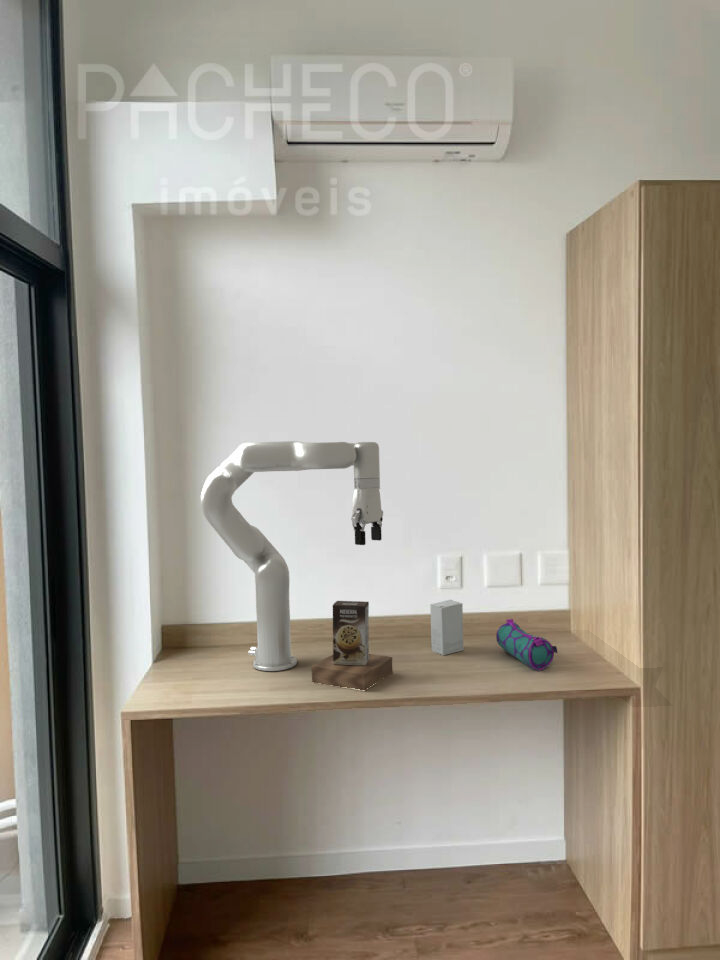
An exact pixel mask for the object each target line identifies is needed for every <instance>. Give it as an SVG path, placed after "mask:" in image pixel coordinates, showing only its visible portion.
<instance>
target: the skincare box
mask: <svg viewBox="0 0 720 960" xmlns="http://www.w3.org/2000/svg"><path fill="white" fill-rule="evenodd" d="M463 609H464V608H463V603H462V602H459V601H455V600H454V599H453V600H452V599H448V600H444V601H439V602H435V603H434V602H433V603H430V632H431V633H430V634H431V636H430V637H431V639H430V640H431V651H432V652H434V653H436V654H438V653H439V655H440V654H441V655H440V656H446V655H450V654H453V653H457V652H461V651H464V618H463V617H464V616H463V613H464V611H463Z"/></svg>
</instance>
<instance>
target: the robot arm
mask: <svg viewBox="0 0 720 960" xmlns="http://www.w3.org/2000/svg"><path fill="white" fill-rule="evenodd" d="M352 466H353V478H354V480H353V484H354V489H353V495H352V506H351V507H352V508H351V509H352V510H351V511H352V512H351V513H352V514H351V518H350V520H351V522H352V528H353V531H354V544H355V545H356V546H365V545H366V544H367V543H366V530H365V528H366V525H368V524H371V527H370V537H371V541H382V526H383V524H382V522H383V517H384V510H382V502H381V492H380V489H381V480H380V479H381V472H380V468H381V467H380V447H379V444H378V443H377V442H375V441H361V442H355V443H354V442H346V441H337V442H335V441H334V442H331V441H330V442H306V441H305V442H303V441H298V440H297V441H296V440H295V441H294V440H293V441H289V440H287V441H254V442H253V441H251V442H247V441H246V442H245V443H242V444H240V445H239V446H238V447H237V448H236V450H235V451H233V452H232V454H230V455H229V456H228V458H226V459H225V460H224V461H223V462H222V463H221V464H220V466H218V467H216V469H215V470H214V471H212V473H210V474H209V475H208V476H207V478H206V480H205V482H204V485H203V488H202V490H201V494H200V508H201V512H202V513H203V516H204V517H205V520H206V521H207V522H208V523H209V525H210V526H211V527H212V528H213V529H214V531H215V532H216V534H218V535H219V537H220V538H221V539H222V540H223V542H224V543H225V544H226V546H228V547H229V549H230V551H232V553H233V555H234V556H235V557H237V558H238V559H239V560H241V561H243V562H244V563H245V564H246V565H247V566H248V567H249V569H250V570H251V571H252V572H253V573H254V579H255V580H254V583H255V604H256V605H255V607H256V608H255V609H256V611H255V612H256V631H257V634H256V635H257V637H256V638H257V646H251V647H250V649H249V650H248V656H254V658H255V659H254V660H253V661H252V667H253V668H254V669H256V670H259V671H263V672H277V671H285V670H288V669H291V668H294V667H295V666H296V665H297V663H298V660H297V658H296V657H295V656H293V655H292V645H291V644H292V643H291V642H292V640H291V613H290V571H289V566H288V564H287V562H286V560H285V559H284V557H283V555H282V554H281V553H280V552H279V551H278V550H277V549H276V548H275V546H274V545H273V544H272V543H271V542H270V541H269V540H268V538H267V536H265V535H264V534H263V533H262V531H261V530H260V529H259V528H257V527H256V526H254V525H251V524H250V523H249V522H248V521H247V520H246V518H245V517H244V516H243V515H242V513H241V512H240V511H239V510H238V508H236V507H235V505H234V503H233V499H232V497H233V495H234V494H235V492H236V491H237V490H238V489H239V488H240V487H241V486H242V485H243V484H244V483H245V482H246V481H247V480H248V479H249V478H250V477H251V476H252V475H253V474H254V473H258V472H259V473H261V472H262V473H264V472H265V473H267V472H298V471H307V470H338V469H340V470H341V469H344V470H345V469H347V468H350V467H352Z"/></svg>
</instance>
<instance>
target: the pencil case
mask: <svg viewBox="0 0 720 960" xmlns="http://www.w3.org/2000/svg"><path fill="white" fill-rule="evenodd" d="M505 621H506V623H504V624H501V626H499V628H498V629H497V631H496V633H495V634H496V637H495V639H496V643H497V644H498V645H499V647H500V648H501V649H502V650H503V651H505V652H506V653H507V654H510V655H511V656H512V657H514V658H515V659H517V660H519V661H520V662H521V663H523V664H524V665H526V666H527V667H529V668H530V669H533V670H534V671H537V672H539V670H541V671H543V670H545V669H547V668H548V667H549V666H550V665H551V664H552V662H553V660H554V655H555V654H558V647H557V645H552V643H551V642H550V641H549V640H548V639H546V638H544V637H541V636H538V635H537V634H536V635H534V634H529V633H527V632H526V631H524V630H523V629H522V628H521V627H520V626H519V624H518V623H516V622H514V619H513V618H510V619H508V618H507V619H506V620H505Z"/></svg>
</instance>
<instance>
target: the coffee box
mask: <svg viewBox="0 0 720 960" xmlns="http://www.w3.org/2000/svg"><path fill="white" fill-rule="evenodd" d="M369 605H370V604H369V601H359V600H358V601H356V600H352V601H351V600H337V601H336V600H335V602H334V603H332V655H333V664H340V665H363V666H365V665H366V664H367V662H368V660H369V654H370V649H369V645H370V643H369V641H370V640H369V639H370V638H369V635H370V634H369V632H370V631H369V625H370V624H369V621H370V620H369V619H370V618H369V613H370V611H369V610H370V609H369V608H370V607H369Z"/></svg>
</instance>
